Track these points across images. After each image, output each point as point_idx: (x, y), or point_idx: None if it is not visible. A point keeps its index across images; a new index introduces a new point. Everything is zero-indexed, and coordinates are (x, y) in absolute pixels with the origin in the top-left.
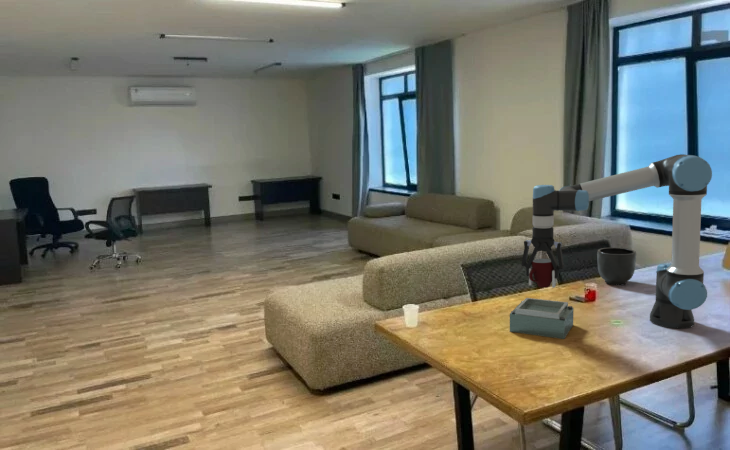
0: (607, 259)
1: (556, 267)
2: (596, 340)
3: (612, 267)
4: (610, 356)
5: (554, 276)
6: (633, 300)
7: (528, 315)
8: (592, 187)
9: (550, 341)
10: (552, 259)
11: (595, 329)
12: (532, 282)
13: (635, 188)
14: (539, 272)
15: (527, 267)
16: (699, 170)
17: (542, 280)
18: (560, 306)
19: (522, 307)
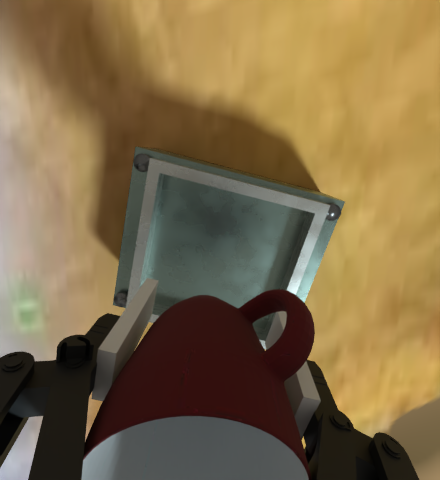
0: None
1: (61, 374)
2: (65, 155)
3: None
4: (12, 5)
5: (119, 320)
6: (7, 459)
7: (272, 188)
8: None
9: (197, 119)
10: (48, 477)
11: (74, 249)
12: (266, 345)
13: None
14: (230, 337)
15: (336, 414)
16: None
17: (209, 302)
18: (154, 304)
19: (292, 263)
